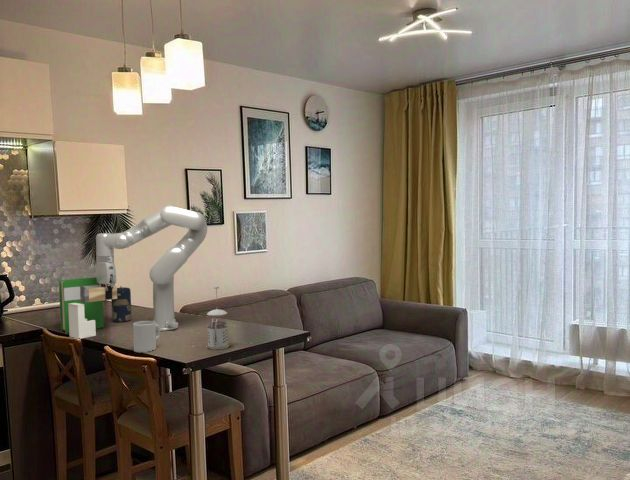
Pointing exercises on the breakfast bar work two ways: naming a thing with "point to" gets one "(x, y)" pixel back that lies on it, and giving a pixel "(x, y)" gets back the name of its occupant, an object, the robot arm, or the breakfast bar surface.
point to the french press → (217, 328)
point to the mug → (145, 336)
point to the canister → (122, 305)
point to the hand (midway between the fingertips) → (106, 298)
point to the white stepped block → (80, 322)
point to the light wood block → (95, 294)
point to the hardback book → (71, 294)
